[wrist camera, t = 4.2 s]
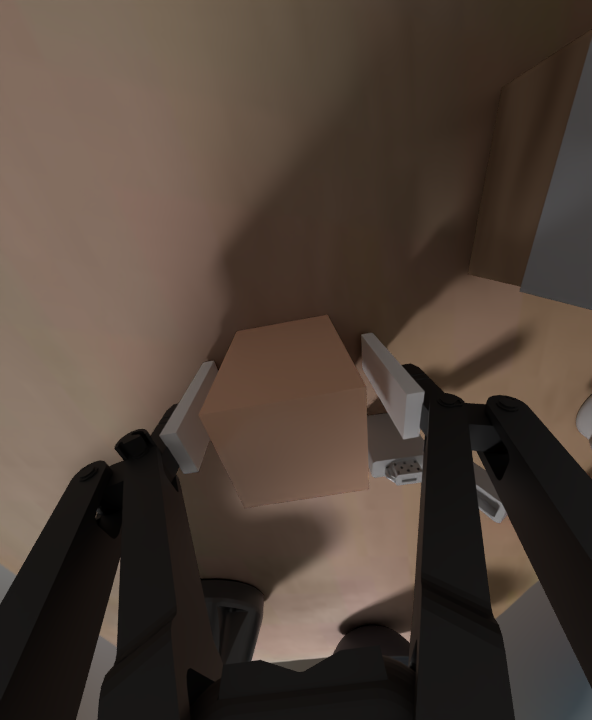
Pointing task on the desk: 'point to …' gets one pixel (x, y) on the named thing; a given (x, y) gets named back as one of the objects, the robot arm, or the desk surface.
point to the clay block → (289, 414)
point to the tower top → (567, 212)
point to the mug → (585, 420)
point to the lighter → (417, 463)
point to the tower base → (524, 162)
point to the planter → (377, 642)
